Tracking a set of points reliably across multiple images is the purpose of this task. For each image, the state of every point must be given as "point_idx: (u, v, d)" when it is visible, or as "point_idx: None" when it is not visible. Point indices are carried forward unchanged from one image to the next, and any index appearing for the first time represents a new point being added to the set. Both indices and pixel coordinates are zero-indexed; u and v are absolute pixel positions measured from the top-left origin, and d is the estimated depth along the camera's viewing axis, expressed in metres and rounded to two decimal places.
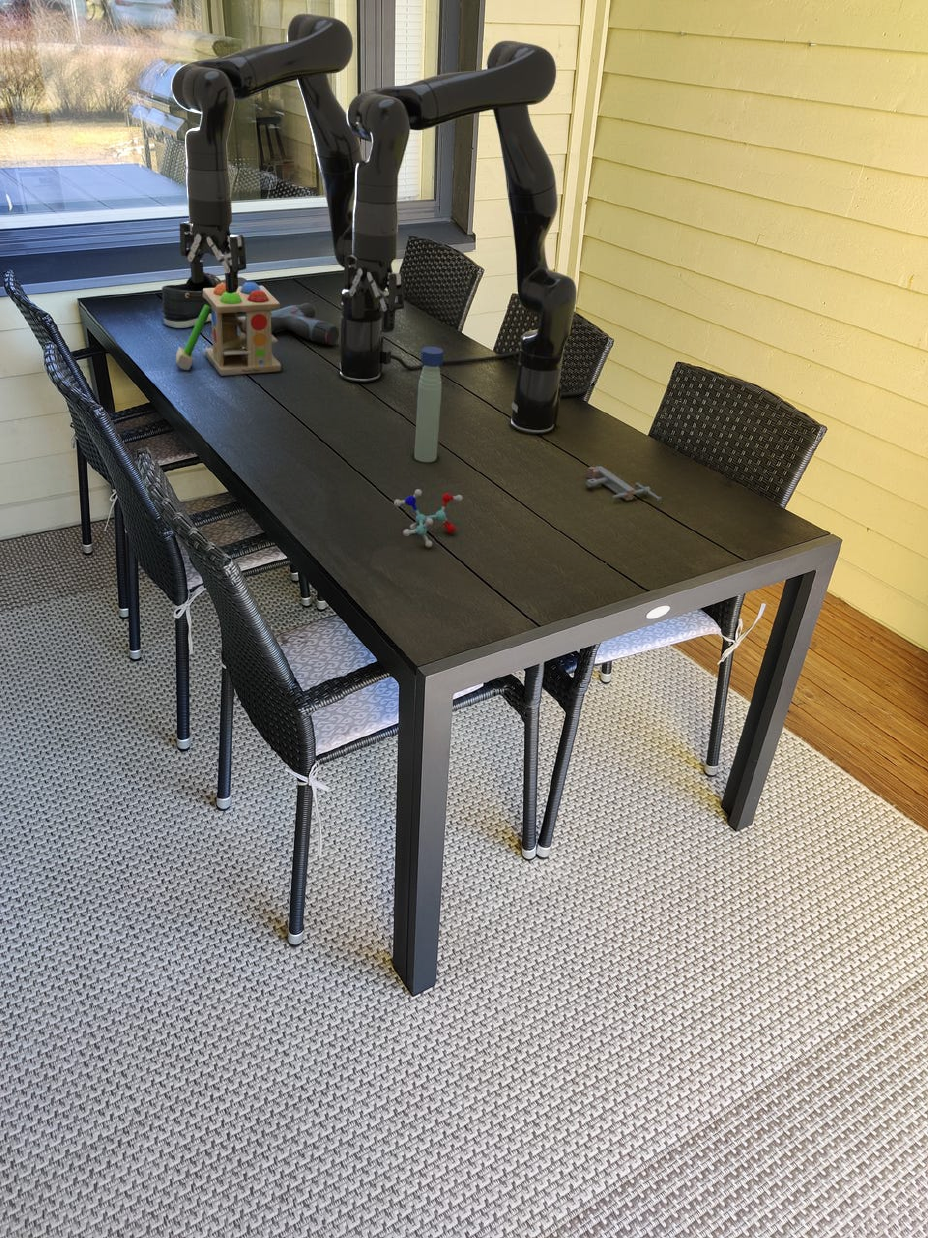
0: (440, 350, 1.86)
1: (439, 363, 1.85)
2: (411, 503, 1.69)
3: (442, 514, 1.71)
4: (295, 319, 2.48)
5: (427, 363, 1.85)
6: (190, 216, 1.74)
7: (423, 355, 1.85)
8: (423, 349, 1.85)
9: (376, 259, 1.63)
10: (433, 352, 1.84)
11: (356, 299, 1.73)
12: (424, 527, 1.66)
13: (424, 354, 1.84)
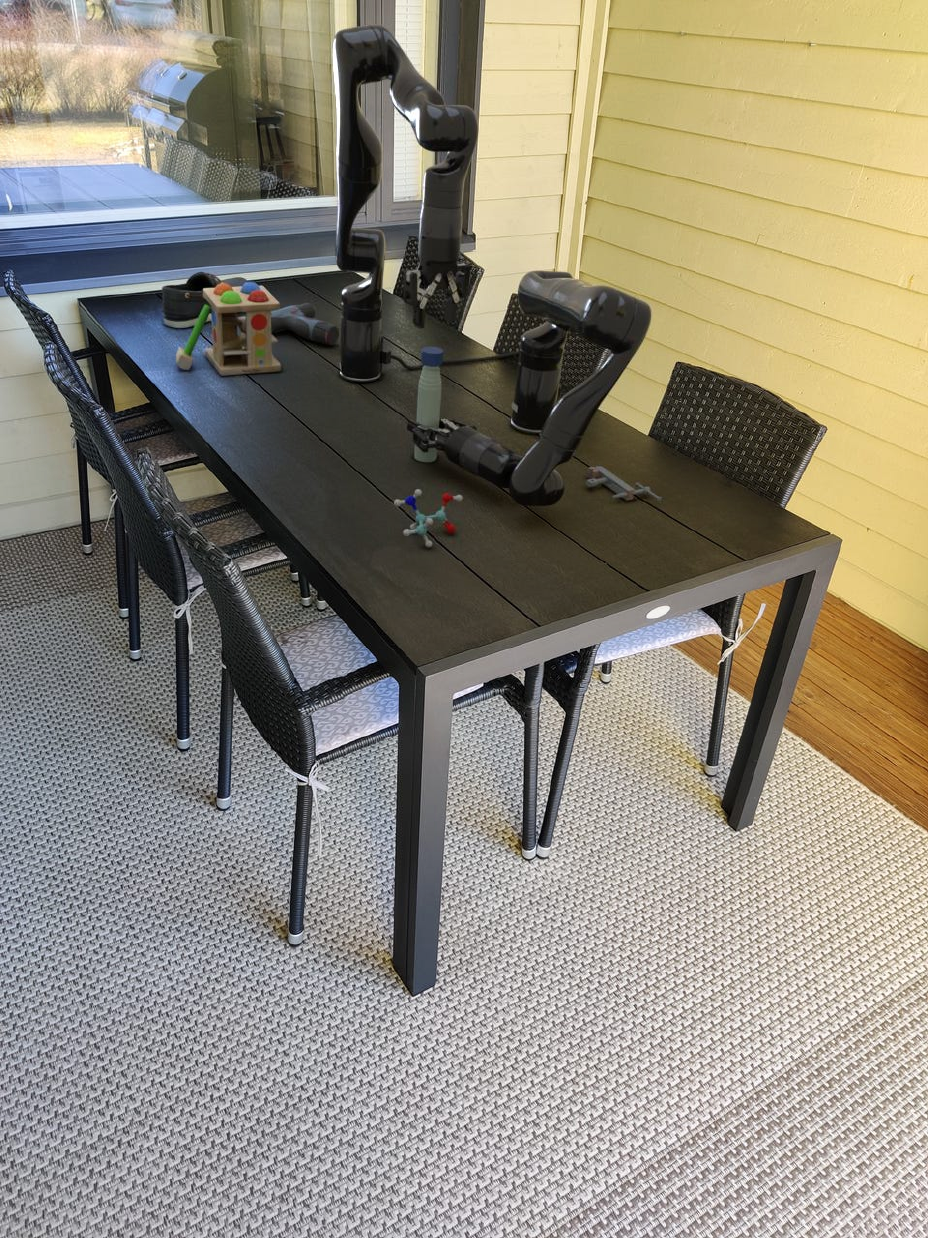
0: (440, 350, 1.86)
1: (439, 363, 1.85)
2: (411, 503, 1.69)
3: (442, 514, 1.71)
4: (295, 319, 2.48)
5: (427, 363, 1.85)
6: (445, 257, 1.72)
7: (423, 355, 1.85)
8: (423, 349, 1.85)
9: None
10: (433, 352, 1.84)
11: None
12: (424, 527, 1.66)
13: (424, 354, 1.84)
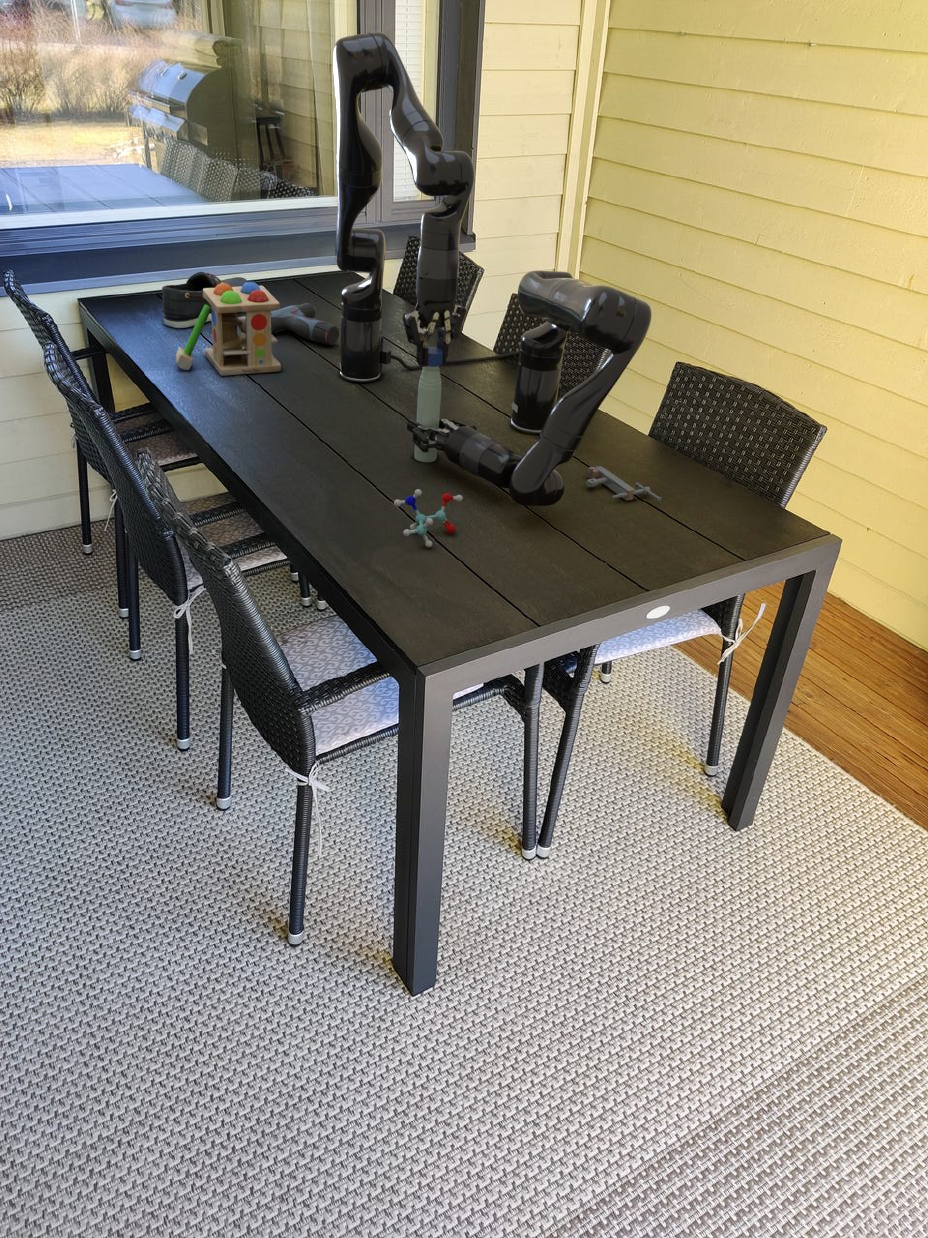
0: (440, 350, 1.86)
1: (439, 363, 1.85)
2: (411, 503, 1.69)
3: (442, 514, 1.71)
4: (295, 319, 2.48)
5: None
6: (442, 297, 1.76)
7: None
8: None
9: None
10: (433, 352, 1.84)
11: None
12: (424, 527, 1.66)
13: None
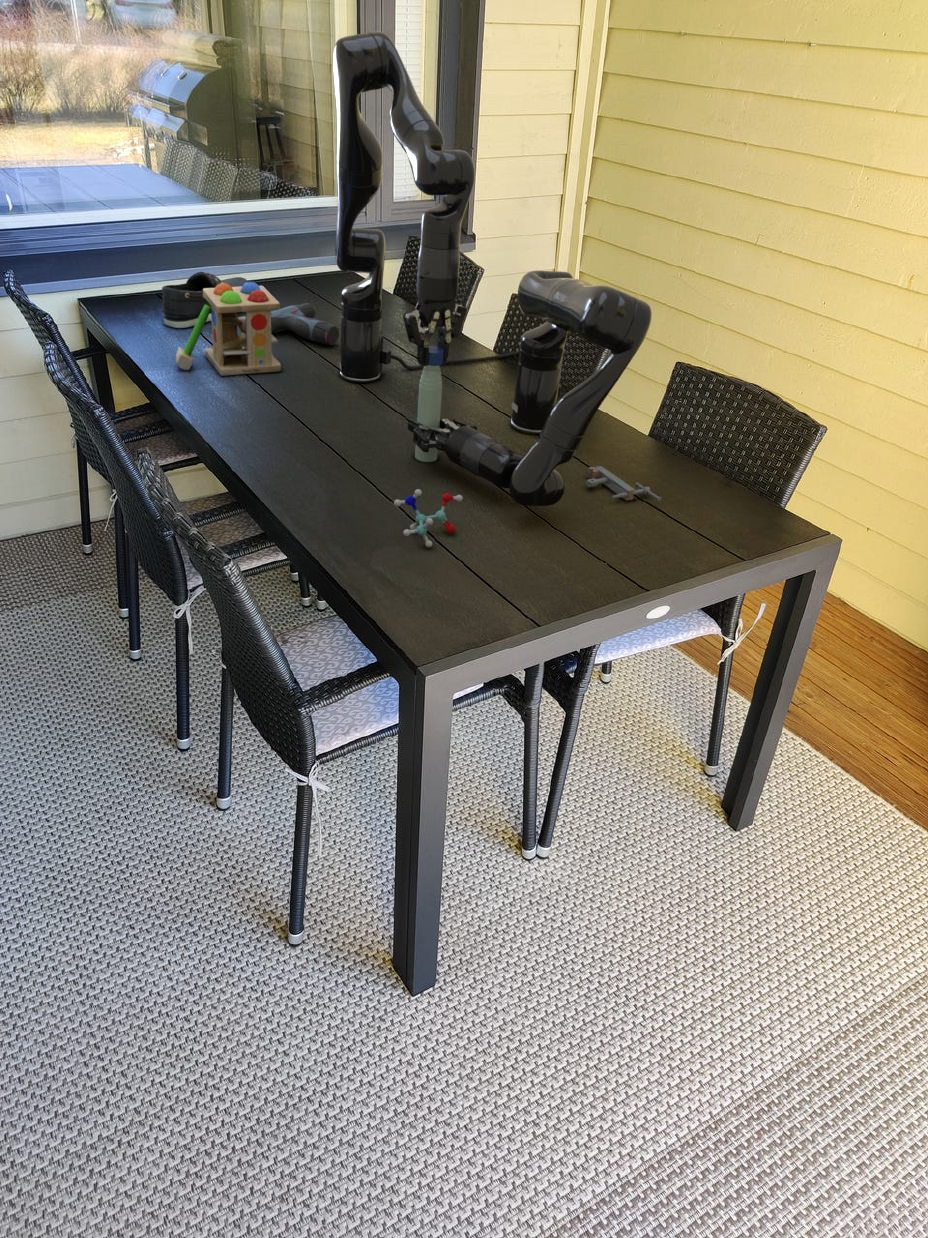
0: (432, 346, 1.87)
1: None
2: (411, 503, 1.69)
3: (442, 514, 1.71)
4: (295, 319, 2.48)
5: (441, 362, 1.86)
6: (442, 296, 1.76)
7: (440, 355, 1.85)
8: (433, 352, 1.84)
9: None
10: (439, 349, 1.86)
11: None
12: (424, 527, 1.66)
13: (440, 355, 1.85)
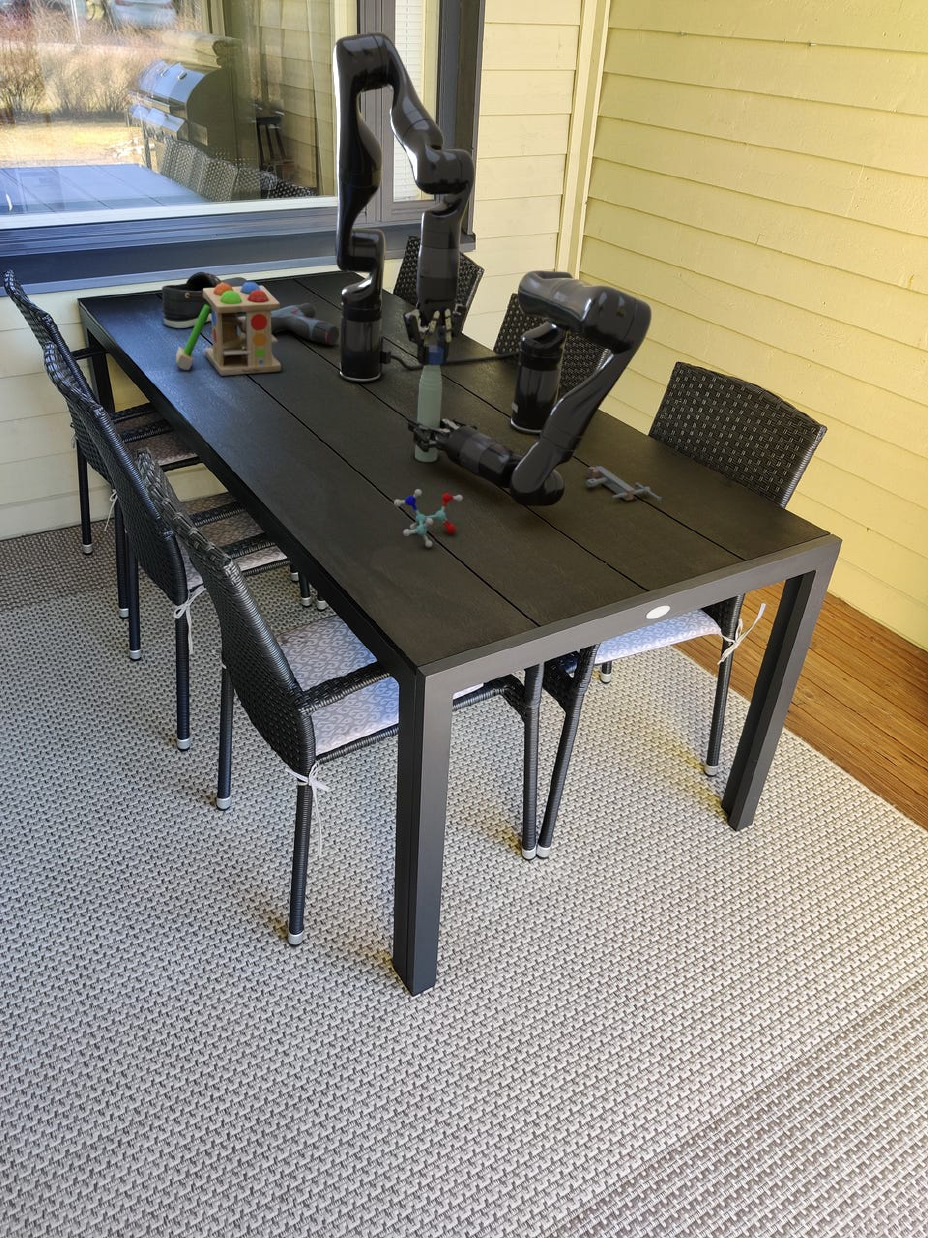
0: None
1: None
2: (411, 503, 1.69)
3: (442, 514, 1.71)
4: (295, 319, 2.48)
5: None
6: (442, 295, 1.76)
7: None
8: (442, 349, 1.86)
9: None
10: (431, 346, 1.86)
11: None
12: (424, 527, 1.66)
13: None
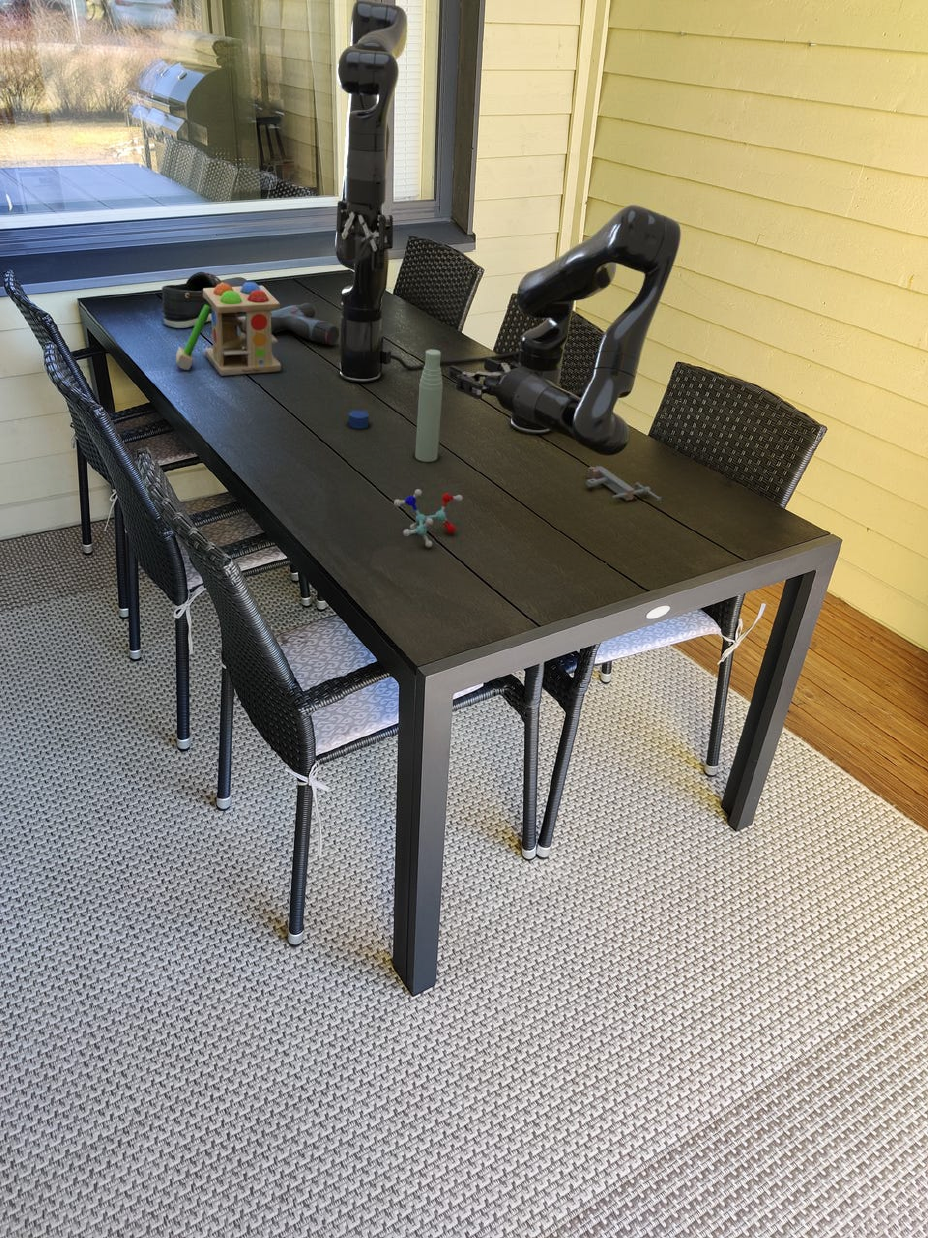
0: (357, 411, 2.08)
1: None
2: (411, 503, 1.69)
3: (442, 514, 1.71)
4: (295, 319, 2.48)
5: (367, 424, 2.08)
6: None
7: (366, 419, 2.06)
8: (360, 417, 2.06)
9: None
10: (364, 413, 2.07)
11: None
12: (424, 527, 1.66)
13: (366, 418, 2.06)
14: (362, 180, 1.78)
